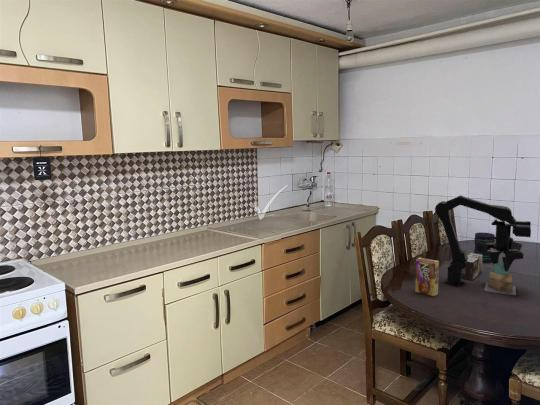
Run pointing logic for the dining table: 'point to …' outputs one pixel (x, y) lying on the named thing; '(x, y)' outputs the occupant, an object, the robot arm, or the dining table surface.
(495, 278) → the oak top block
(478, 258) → the coffee box
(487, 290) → the grey square tile
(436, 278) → the candy box
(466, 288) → the dining table surface
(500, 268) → the teal block
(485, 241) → the storage jar
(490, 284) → the walnut base block
